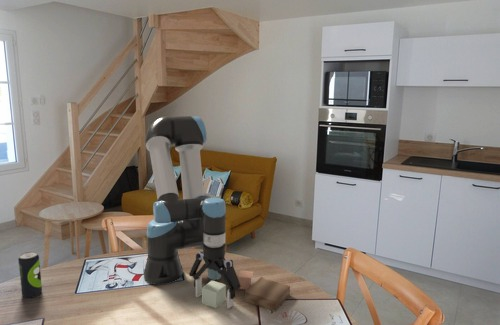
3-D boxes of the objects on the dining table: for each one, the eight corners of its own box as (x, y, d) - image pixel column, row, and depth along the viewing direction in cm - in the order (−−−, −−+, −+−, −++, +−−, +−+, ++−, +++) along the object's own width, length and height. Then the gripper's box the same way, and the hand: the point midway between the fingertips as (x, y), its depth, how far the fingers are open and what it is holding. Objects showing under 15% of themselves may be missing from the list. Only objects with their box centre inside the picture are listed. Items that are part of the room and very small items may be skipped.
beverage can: (19, 293, 134) (15, 254, 131) (38, 287, 138) (35, 249, 135) (25, 300, 129) (21, 260, 127) (44, 293, 134) (41, 254, 131)
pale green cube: (201, 303, 130) (201, 287, 129) (211, 295, 136) (212, 280, 134) (216, 308, 128) (216, 292, 126) (225, 300, 133) (226, 284, 132)
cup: (223, 271, 154) (223, 247, 152) (225, 280, 146) (226, 255, 144) (205, 272, 152) (204, 248, 150) (206, 282, 145) (206, 256, 143)
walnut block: (244, 302, 132) (244, 291, 132) (260, 287, 143) (260, 277, 142) (275, 312, 127) (275, 301, 126) (289, 296, 137) (290, 286, 136)
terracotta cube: (237, 288, 140) (237, 276, 140) (240, 282, 145) (240, 270, 144) (250, 290, 140) (251, 278, 139) (252, 283, 145) (253, 271, 144)
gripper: (178, 239, 130) (179, 295, 134) (239, 255, 118) (238, 316, 122) (192, 232, 137) (192, 286, 141) (251, 247, 125) (250, 305, 129)
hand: (214, 300), depth 131 cm, fingers open, 13 cm apart
